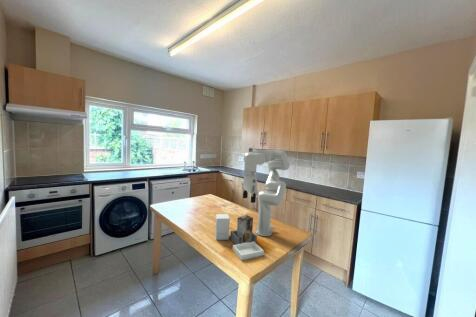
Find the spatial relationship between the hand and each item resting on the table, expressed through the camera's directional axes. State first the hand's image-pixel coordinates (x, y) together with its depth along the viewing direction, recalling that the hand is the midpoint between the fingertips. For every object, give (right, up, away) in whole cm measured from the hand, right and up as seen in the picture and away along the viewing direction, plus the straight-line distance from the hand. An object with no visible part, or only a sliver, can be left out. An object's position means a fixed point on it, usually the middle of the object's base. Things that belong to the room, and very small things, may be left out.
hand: (248, 200), depth 123 cm
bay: (-3, -30, +10) cm, 31 cm away
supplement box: (-18, -29, +14) cm, 37 cm away
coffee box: (-3, -30, +10) cm, 32 cm away
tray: (-1, -31, -4) cm, 31 cm away
